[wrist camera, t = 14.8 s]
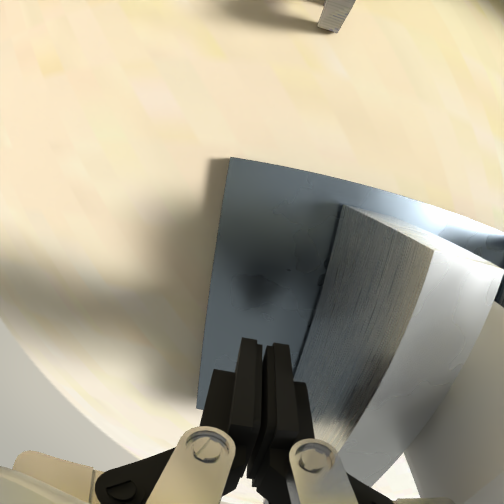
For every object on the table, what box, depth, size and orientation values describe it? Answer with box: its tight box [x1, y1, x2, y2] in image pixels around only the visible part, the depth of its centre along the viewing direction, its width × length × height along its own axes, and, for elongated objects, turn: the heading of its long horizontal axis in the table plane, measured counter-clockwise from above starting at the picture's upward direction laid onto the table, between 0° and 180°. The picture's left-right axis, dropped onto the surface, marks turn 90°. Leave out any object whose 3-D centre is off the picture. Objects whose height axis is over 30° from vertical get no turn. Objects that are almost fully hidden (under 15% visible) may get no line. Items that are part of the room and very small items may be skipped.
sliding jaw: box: [293, 204, 504, 487], centre depth 10 cm, size 3×12×7 cm, turn 170°
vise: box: [196, 157, 504, 410], centre depth 11 cm, size 19×14×8 cm
